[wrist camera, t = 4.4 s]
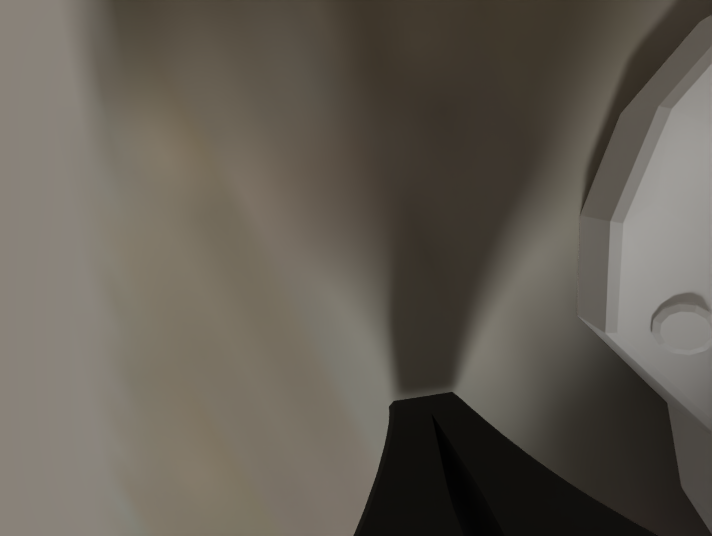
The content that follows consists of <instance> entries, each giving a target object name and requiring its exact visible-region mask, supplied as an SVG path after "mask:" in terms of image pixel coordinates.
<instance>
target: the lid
mask: <svg viewBox="0 0 712 536" xmlns="http://www.w3.org/2000/svg"><path fill="white" fill-rule="evenodd" d="M577 316H578V317H579V318H581V319H582V320H583V321H584V322H585V323H586V324H587V325H588V326H589V327H590V328H591V329H592V330H593V331H594V332H595V333H596V334H597V335H598V336H599V337H600V338H601V339H602V340H603V341H604V342H605V343H606V344H607V345H608V346H609V347H610V348H611V349H612V350H613V351H614V352H615V353H616V354H618V355H619V356H620V357H621V358H622V359H623V360H624V361H625V362H626V363H627V364H628V365H629V366H630V367H631V368H632V369H633V370H634V371H635V372H636V373H637V374H638V375H639V376H640V377H641V378H642V379H643V380H644V381H645V382H646V383H647V384H648V385H649V386H650V387H651V388H652V389H654V390H655V391H656V392H657V393H658V394H659V395H660V396H661V397H662V398H663V399H664V400H665V401H666V402H667V405H668V411H669V416H670V422H671V428H672V434H673V440H674V446H675V452H676V458H677V464H678V470H679V475H680V481H681V487H682V489H683V490H684V492H685V493H686V495H687V497H688V498H689V500H690V501H691V503H692V504H693V506H694V507H695V509H696V511H697V512H698V514H699V515H700V517H701V518H702V520H703V521H704V523H705V524H706V526H707V528H708V529H709V531H710V532H711V534H712V15H710V16H708V17H707V18H705V19H703V20H702V21H700V22H699V23H698V24H697V25H696V27H695V28H694V29H693V30H692V31H691V32H690V33H689V35H688V36H687V37H686V38H685V39H684V40H683V42H682V43H681V44H680V45H679V46H678V47H677V49H676V50H675V51H674V52H673V53H672V54H671V56H670V57H669V58H668V59H667V60H666V61H665V63H664V64H663V65H662V66H661V67H660V68H659V70H658V71H657V72H656V73H655V74H654V75H653V77H652V78H651V79H650V80H649V81H648V82H647V83H646V85H645V86H644V87H643V88H642V89H641V90H640V92H639V93H638V94H637V95H636V96H635V97H634V99H633V100H632V101H631V102H630V103H629V104H628V106H627V107H626V108H625V109H624V110H623V111H622V113H621V114H620V116H619V119H618V121H617V124H616V126H615V129H614V131H613V134H612V136H611V139H610V141H609V144H608V146H607V149H606V151H605V154H604V156H603V159H602V161H601V164H600V166H599V169H598V171H597V174H596V176H595V179H594V181H593V184H592V186H591V189H590V191H589V194H588V196H587V199H586V201H585V204H584V206H583V209H582V211H581V214H580V228H579V259H578V291H577Z"/></svg>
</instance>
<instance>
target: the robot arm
mask: <svg viewBox="0 0 712 536" xmlns="http://www.w3.org/2000/svg"><path fill="white" fill-rule="evenodd" d="M354 536H658V535H656V534H654V533H652V532H650V531H649V530H647V529H645V528H643V527H641V526H640V525H638V524H636V523H634V522H632V521H631V520H629V519H627V518H626V517H624V516H622V515H621V514H619V513H617V512H616V511H614V510H612V509H610V508H609V507H607V506H605V505H604V504H602V503H600V502H599V501H597V500H595V499H593V498H592V497H590V496H589V495H587V494H585V493H584V492H582V491H581V490H579V489H578V488H576V487H574V486H573V485H571V484H570V483H568V482H567V481H565V480H564V479H562V478H561V477H559V476H558V475H557V474H555V473H554V472H552V471H551V470H549V469H548V468H546V467H545V466H543V465H542V464H541V463H539V462H538V461H537V460H535V459H534V458H533V457H531V456H530V455H528V454H527V453H526V452H525V451H523V450H522V449H521V448H519V447H518V446H517V445H516V444H514V443H513V442H512V441H510V440H509V439H508V438H507V437H505V436H504V435H503V434H501V433H500V432H499V431H498V430H497V429H495V428H494V427H493V426H492V425H491V424H489V423H488V422H487V421H486V420H485V419H483V418H482V417H481V416H480V415H479V414H478V413H476V412H475V411H474V410H473V409H472V408H471V407H470V406H468V405H467V404H466V403H465V402H464V401H463V400H462V399H461V398H459V397H458V396H457V395H456V394H454V393H453V392H449V393H443V394H436V395H430V396H423V397H417V398H411V399H404V400H398V401H393V403H392V404H391V405H390V406H389V425H388V431H387V436H386V441H385V446H384V449H383V453H382V457H381V461H380V464H379V468H378V472H377V475H376V478H375V481H374V484H373V486H372V489H371V492H370V495H369V498H368V501H367V503H366V506H365V509H364V512H363V514H362V517H361V519H360V521H359V524H358V526H357V529H356V531H355V533H354Z"/></svg>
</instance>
